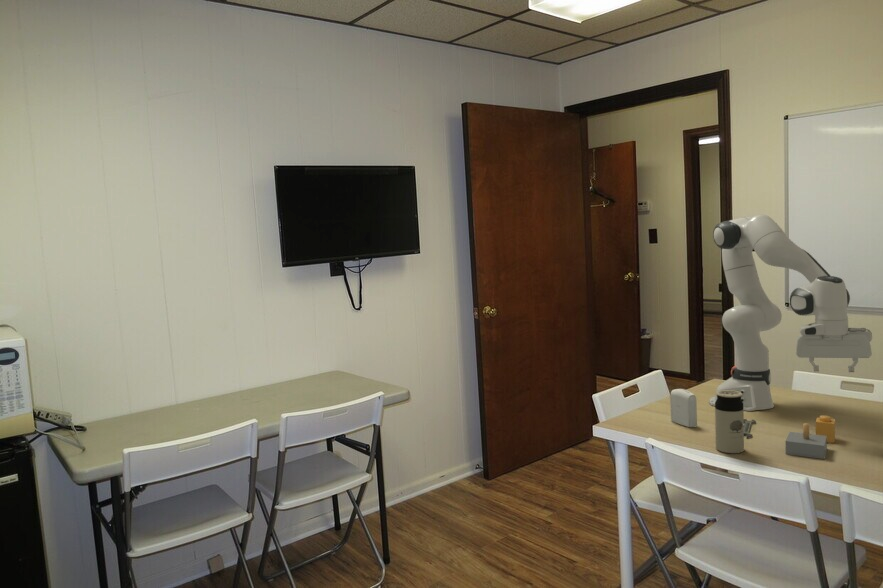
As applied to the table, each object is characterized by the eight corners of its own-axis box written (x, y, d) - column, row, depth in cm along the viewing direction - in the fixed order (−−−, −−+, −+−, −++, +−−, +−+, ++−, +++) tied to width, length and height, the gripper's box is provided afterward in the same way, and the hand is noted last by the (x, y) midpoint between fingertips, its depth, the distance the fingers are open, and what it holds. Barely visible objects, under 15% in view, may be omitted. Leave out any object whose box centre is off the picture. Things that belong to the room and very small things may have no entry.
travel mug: (712, 445, 202) (711, 390, 201) (738, 445, 201) (737, 389, 200) (720, 454, 194) (719, 396, 193) (748, 453, 193) (747, 395, 192)
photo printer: (669, 421, 230) (668, 387, 229) (678, 419, 231) (677, 385, 230) (689, 428, 220) (688, 393, 219) (699, 426, 222) (698, 391, 221)
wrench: (752, 440, 206) (757, 423, 223) (751, 435, 206) (756, 418, 223) (735, 439, 209) (741, 423, 226) (735, 434, 209) (741, 418, 226)
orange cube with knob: (815, 440, 201) (815, 418, 201) (816, 436, 206) (816, 413, 205) (834, 443, 199) (834, 419, 198) (835, 438, 203) (835, 415, 202)
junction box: (785, 453, 192) (785, 426, 191) (789, 444, 200) (789, 417, 199) (824, 459, 186) (824, 430, 185) (826, 448, 194) (826, 421, 193)
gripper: (870, 326, 197) (872, 370, 198) (795, 327, 207) (797, 368, 208) (872, 329, 192) (874, 374, 193) (795, 329, 202) (797, 373, 203)
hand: (833, 371), depth 201 cm, fingers open, 8 cm apart
